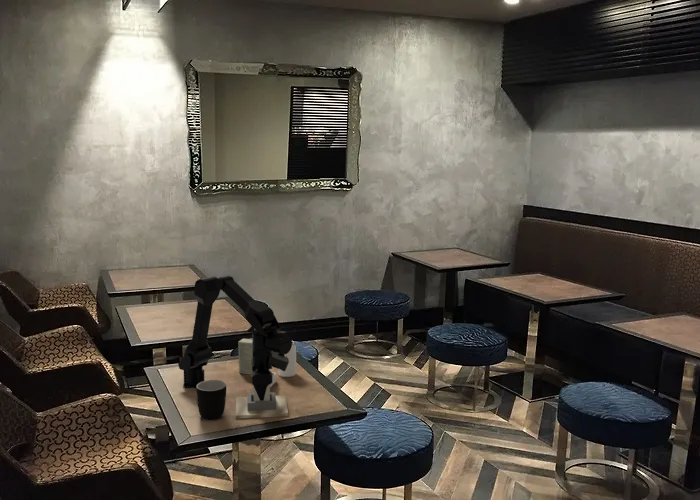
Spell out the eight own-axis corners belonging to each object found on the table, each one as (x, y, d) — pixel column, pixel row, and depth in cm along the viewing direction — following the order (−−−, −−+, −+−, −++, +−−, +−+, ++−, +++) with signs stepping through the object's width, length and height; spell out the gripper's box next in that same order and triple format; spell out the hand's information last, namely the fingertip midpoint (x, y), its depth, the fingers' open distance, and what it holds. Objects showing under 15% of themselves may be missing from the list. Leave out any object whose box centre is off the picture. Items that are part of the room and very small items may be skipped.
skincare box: (258, 371, 231) (258, 339, 229) (253, 375, 226) (253, 343, 224) (243, 369, 232) (243, 337, 230) (238, 373, 228) (237, 341, 226)
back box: (247, 410, 193) (247, 403, 193) (247, 400, 201) (247, 393, 200) (276, 409, 195) (276, 402, 194) (275, 399, 202) (275, 392, 202)
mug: (230, 419, 189) (229, 387, 187) (200, 424, 185) (200, 392, 183) (219, 404, 200) (219, 374, 198) (191, 409, 195) (190, 379, 194)
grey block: (253, 408, 195) (253, 380, 194) (253, 402, 199) (253, 376, 198) (269, 407, 196) (269, 380, 195) (269, 402, 200) (269, 375, 199)
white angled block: (256, 383, 212) (260, 358, 215) (265, 388, 221) (269, 364, 224) (266, 384, 211) (271, 359, 214) (274, 389, 220) (278, 364, 223)
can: (299, 373, 229) (299, 342, 227) (288, 379, 223) (288, 347, 221) (285, 370, 232) (285, 339, 230) (274, 375, 227) (274, 343, 225)
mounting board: (235, 418, 190) (235, 415, 190) (236, 400, 203) (236, 397, 203) (288, 416, 192) (288, 413, 192) (285, 398, 206) (285, 395, 206)
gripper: (289, 356, 187) (288, 405, 189) (285, 337, 205) (285, 382, 208) (251, 357, 185) (251, 407, 188) (251, 338, 203) (251, 384, 206)
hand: (261, 394), depth 197 cm, fingers open, 9 cm apart
